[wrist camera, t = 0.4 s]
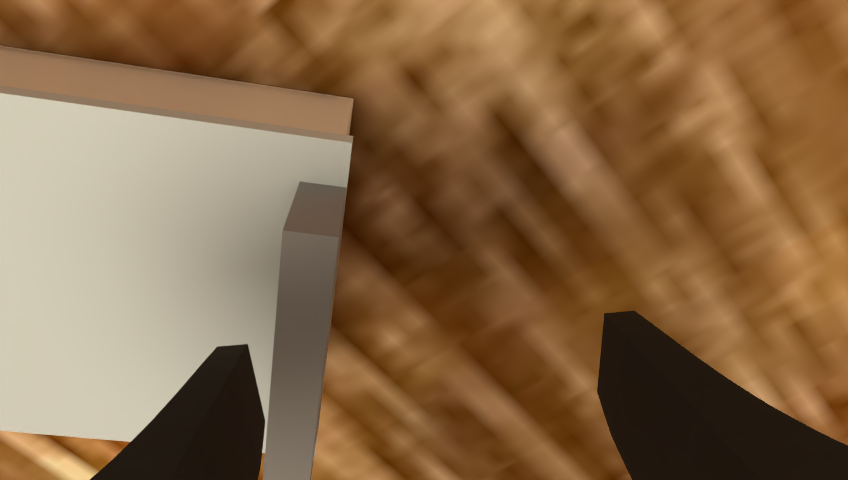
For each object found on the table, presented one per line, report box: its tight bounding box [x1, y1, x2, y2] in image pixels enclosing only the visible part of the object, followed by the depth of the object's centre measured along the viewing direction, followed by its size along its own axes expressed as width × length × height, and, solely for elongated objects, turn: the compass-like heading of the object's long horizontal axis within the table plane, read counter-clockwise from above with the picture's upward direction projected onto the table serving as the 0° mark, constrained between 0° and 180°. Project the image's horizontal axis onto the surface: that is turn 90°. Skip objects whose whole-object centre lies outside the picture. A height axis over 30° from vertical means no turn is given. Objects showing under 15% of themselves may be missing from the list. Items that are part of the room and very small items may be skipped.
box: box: [0, 45, 354, 135], centre depth 20 cm, size 12×10×5 cm
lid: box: [0, 86, 353, 480], centre depth 16 cm, size 12×10×4 cm
